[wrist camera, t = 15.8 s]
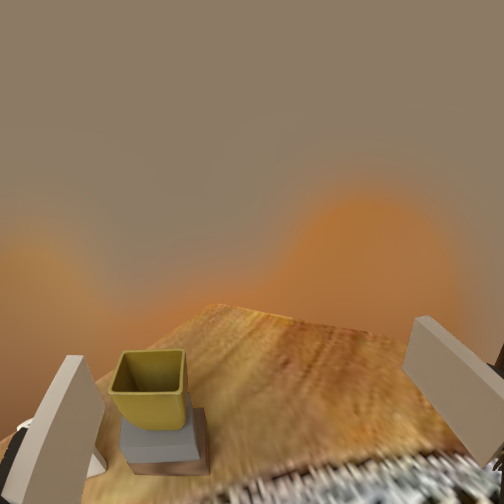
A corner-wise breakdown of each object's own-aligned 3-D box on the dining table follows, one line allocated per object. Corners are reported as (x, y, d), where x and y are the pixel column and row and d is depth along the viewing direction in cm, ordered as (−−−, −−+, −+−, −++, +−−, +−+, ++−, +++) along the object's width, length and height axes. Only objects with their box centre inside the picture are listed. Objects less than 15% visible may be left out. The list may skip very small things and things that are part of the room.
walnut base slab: (206, 423, 43) (203, 407, 42) (210, 476, 32) (206, 463, 31) (142, 424, 41) (136, 409, 40) (135, 475, 31) (126, 462, 30)
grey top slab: (193, 409, 41) (188, 392, 40) (200, 459, 32) (194, 443, 31) (131, 414, 39) (124, 396, 38) (128, 463, 30) (118, 447, 29)
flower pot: (138, 396, 38) (122, 349, 35) (195, 395, 39) (185, 346, 37) (129, 440, 30) (106, 393, 27) (195, 441, 31) (182, 393, 28)
